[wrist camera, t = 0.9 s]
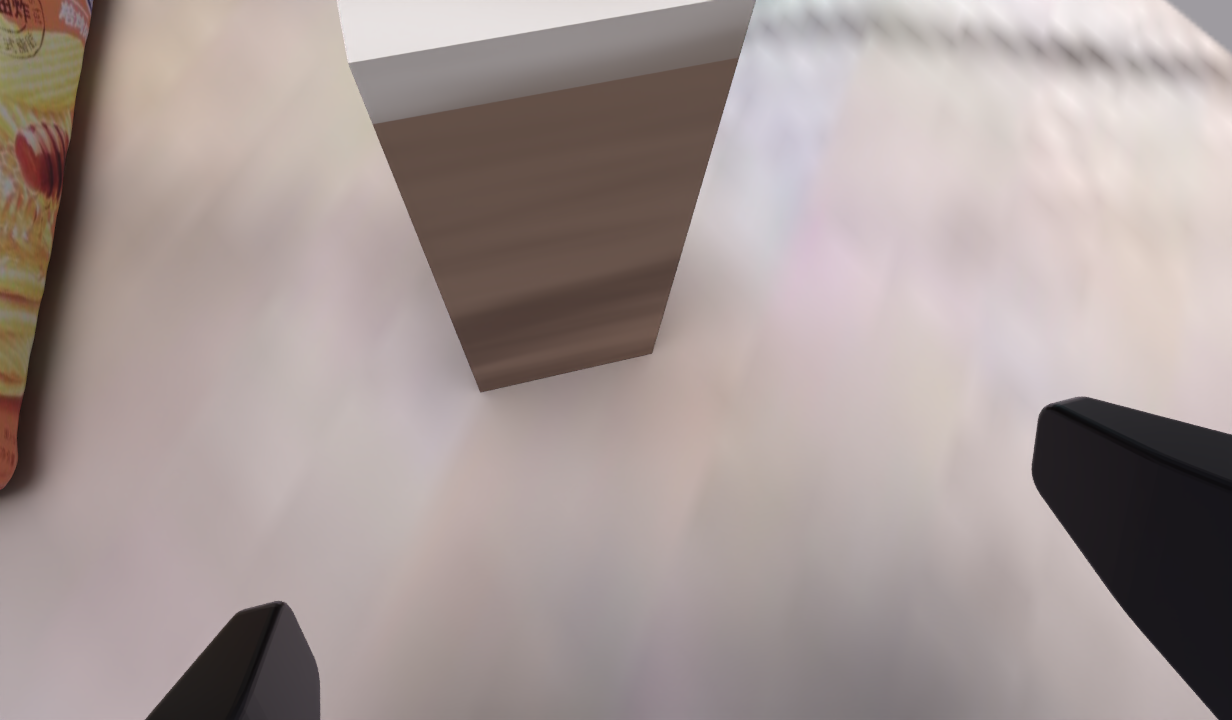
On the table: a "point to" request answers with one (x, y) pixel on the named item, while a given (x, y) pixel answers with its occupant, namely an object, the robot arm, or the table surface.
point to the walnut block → (547, 160)
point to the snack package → (31, 176)
